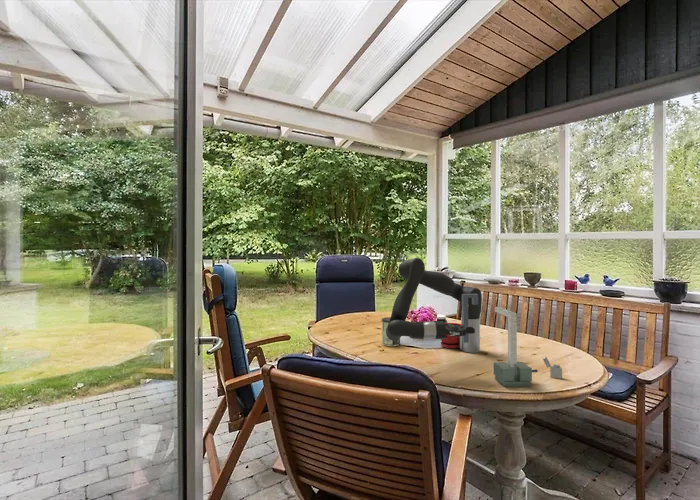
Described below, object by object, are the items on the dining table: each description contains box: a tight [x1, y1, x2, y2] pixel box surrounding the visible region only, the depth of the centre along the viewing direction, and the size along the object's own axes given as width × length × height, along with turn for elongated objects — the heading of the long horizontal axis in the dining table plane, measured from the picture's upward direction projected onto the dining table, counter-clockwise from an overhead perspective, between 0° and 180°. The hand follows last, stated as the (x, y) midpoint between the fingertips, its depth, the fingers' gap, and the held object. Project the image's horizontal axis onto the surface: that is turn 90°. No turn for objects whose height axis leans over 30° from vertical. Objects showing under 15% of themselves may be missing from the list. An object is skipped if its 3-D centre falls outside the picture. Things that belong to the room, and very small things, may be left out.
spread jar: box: [436, 314, 449, 323], centre depth 219 cm, size 12×11×12 cm
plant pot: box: [440, 322, 461, 349], centre depth 194 cm, size 13×13×12 cm
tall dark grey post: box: [461, 294, 478, 343], centre depth 152 cm, size 6×2×20 cm, turn 91°
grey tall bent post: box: [493, 306, 538, 388], centre depth 147 cm, size 16×18×28 cm
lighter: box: [542, 355, 563, 380], centre depth 148 cm, size 7×2×8 cm, turn 57°
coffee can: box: [381, 316, 401, 347], centre depth 200 cm, size 10×10×14 cm
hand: (473, 330), depth 152 cm, fingers closed on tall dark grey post, 2 cm apart
